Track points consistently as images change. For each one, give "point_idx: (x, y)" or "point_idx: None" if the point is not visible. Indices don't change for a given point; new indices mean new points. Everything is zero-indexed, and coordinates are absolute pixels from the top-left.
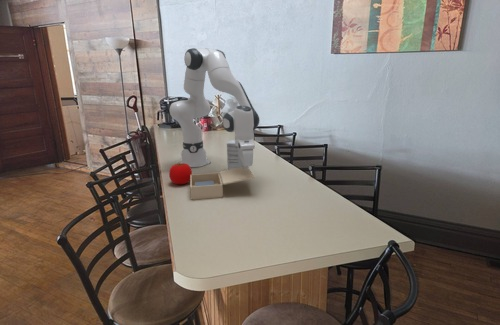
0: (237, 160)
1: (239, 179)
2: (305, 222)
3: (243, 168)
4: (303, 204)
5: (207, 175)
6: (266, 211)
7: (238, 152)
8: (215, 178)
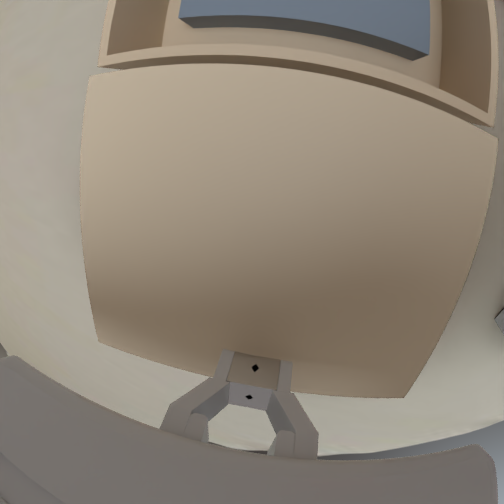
0: None
1: (92, 234)
2: (4, 297)
3: (230, 367)
4: (75, 351)
5: (479, 21)
6: (22, 243)
7: (475, 484)
8: (461, 86)
